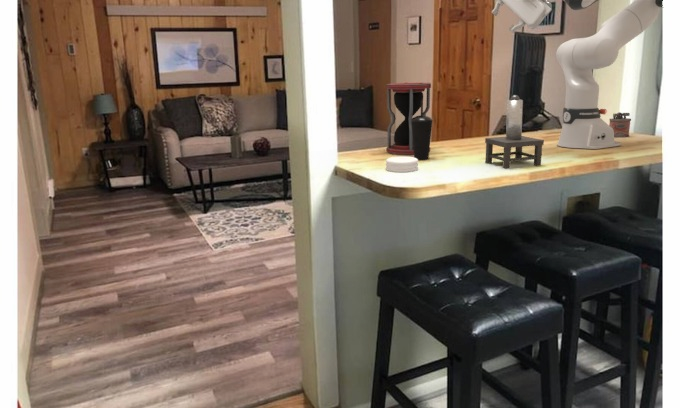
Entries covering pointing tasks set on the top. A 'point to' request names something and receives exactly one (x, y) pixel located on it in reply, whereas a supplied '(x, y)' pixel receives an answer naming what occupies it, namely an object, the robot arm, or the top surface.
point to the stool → (518, 152)
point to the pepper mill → (514, 118)
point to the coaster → (401, 164)
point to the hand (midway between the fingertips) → (501, 22)
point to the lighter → (620, 125)
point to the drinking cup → (421, 135)
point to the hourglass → (405, 114)
